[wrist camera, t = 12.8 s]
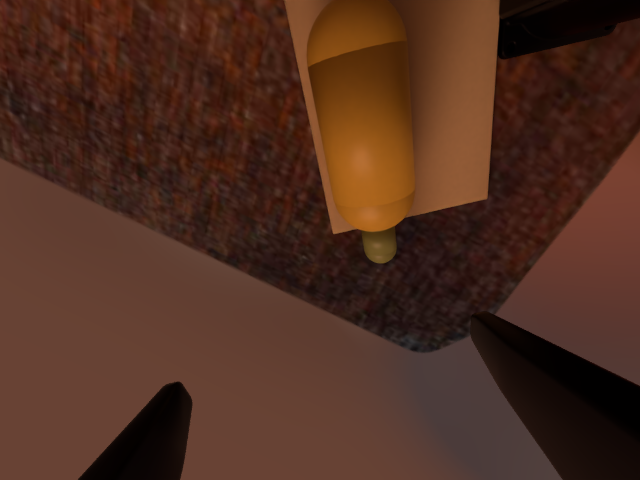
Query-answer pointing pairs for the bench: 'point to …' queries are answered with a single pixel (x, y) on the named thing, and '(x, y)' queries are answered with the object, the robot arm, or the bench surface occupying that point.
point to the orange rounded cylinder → (365, 116)
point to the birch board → (430, 96)
